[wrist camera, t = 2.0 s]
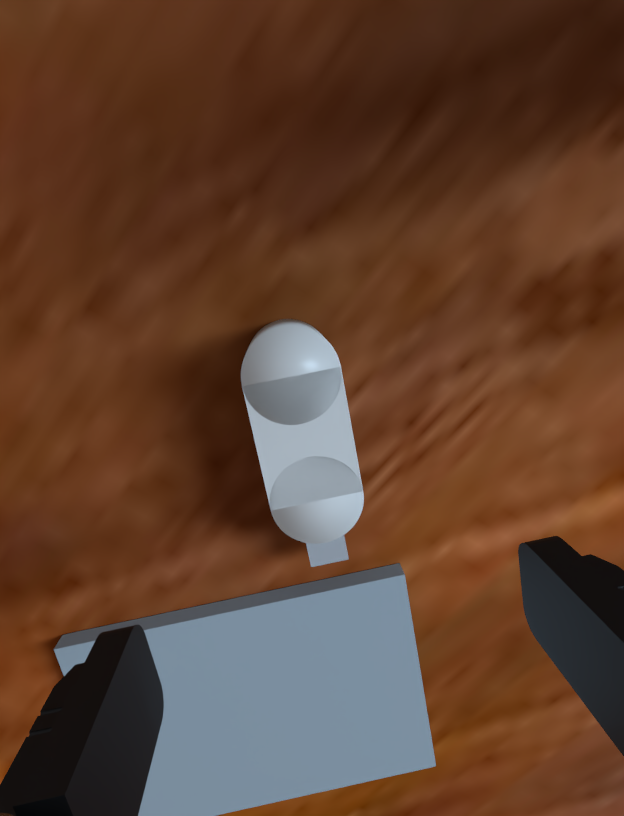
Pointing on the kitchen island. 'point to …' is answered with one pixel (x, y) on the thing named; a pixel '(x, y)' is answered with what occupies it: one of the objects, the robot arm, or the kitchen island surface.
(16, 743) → the kitchen island surface
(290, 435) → the rounded plug
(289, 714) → the cutting board
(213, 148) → the kitchen island surface
